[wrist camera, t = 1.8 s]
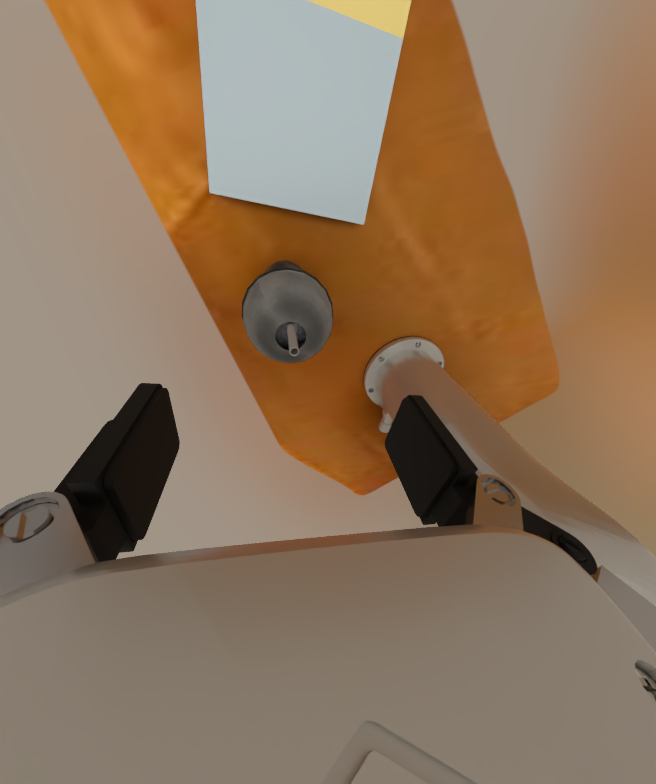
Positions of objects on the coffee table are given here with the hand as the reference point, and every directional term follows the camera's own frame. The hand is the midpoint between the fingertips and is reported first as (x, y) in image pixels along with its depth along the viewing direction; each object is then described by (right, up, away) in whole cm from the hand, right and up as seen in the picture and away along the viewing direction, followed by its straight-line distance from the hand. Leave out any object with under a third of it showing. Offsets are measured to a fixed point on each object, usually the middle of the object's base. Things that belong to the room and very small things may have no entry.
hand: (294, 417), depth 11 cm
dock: (-1, +25, +11) cm, 28 cm away
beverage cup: (-4, +14, +19) cm, 24 cm away
